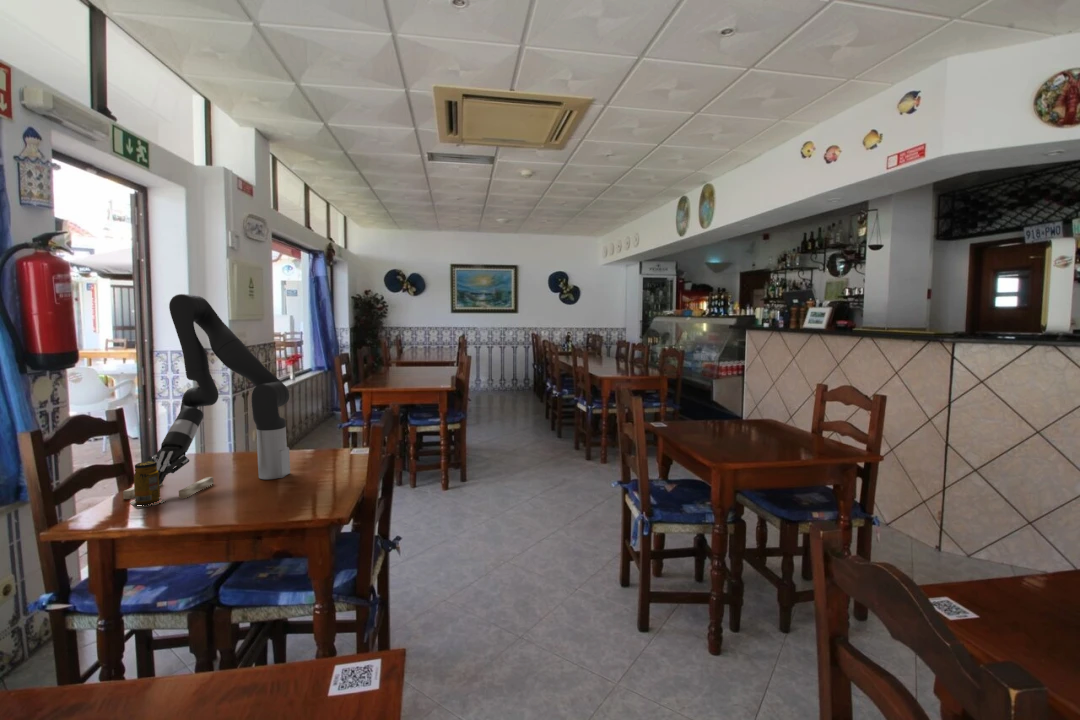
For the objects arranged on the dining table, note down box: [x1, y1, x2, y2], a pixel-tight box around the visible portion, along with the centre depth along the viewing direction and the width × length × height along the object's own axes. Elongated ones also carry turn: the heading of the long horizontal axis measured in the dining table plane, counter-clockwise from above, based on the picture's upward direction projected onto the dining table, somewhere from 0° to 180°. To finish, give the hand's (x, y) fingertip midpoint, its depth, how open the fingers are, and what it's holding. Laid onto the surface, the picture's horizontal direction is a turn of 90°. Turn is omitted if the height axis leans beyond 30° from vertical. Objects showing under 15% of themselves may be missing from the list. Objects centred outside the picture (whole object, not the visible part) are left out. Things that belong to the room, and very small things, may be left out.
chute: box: [122, 476, 214, 500], centre depth 166 cm, size 14×19×2 cm
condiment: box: [129, 461, 166, 509], centre depth 155 cm, size 7×8×12 cm
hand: (155, 484), depth 159 cm, fingers closed
